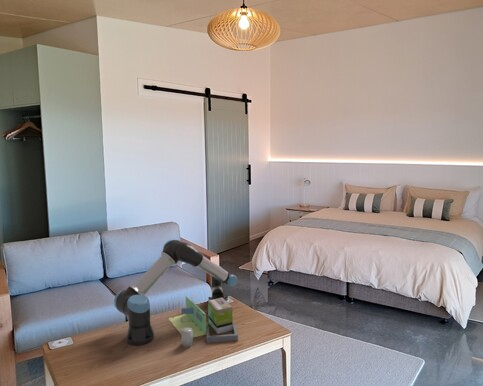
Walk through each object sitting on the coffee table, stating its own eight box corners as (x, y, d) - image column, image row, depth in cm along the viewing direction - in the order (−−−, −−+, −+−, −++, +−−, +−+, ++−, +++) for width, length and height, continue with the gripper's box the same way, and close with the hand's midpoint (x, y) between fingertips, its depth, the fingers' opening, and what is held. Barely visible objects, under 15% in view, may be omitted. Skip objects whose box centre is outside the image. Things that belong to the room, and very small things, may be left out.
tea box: (207, 323, 237) (207, 299, 235) (223, 319, 241) (222, 296, 239) (217, 334, 223) (216, 309, 221) (233, 330, 228) (232, 306, 226)
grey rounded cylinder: (181, 347, 210) (181, 333, 209) (181, 341, 216) (181, 328, 215) (192, 346, 211) (192, 332, 210) (192, 340, 217) (192, 327, 216)
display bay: (206, 342, 215) (206, 337, 214) (206, 330, 228) (205, 325, 227) (238, 340, 216) (237, 335, 216) (235, 328, 230) (235, 323, 229)
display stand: (206, 334, 224) (205, 313, 222) (185, 340, 218) (185, 319, 216) (186, 314, 250) (186, 295, 248) (168, 319, 244) (167, 299, 242)
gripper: (227, 298, 265) (230, 314, 242) (207, 299, 263) (209, 315, 240) (227, 288, 264) (230, 302, 241) (207, 289, 262) (209, 303, 239)
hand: (219, 309), depth 240 cm, fingers closed
